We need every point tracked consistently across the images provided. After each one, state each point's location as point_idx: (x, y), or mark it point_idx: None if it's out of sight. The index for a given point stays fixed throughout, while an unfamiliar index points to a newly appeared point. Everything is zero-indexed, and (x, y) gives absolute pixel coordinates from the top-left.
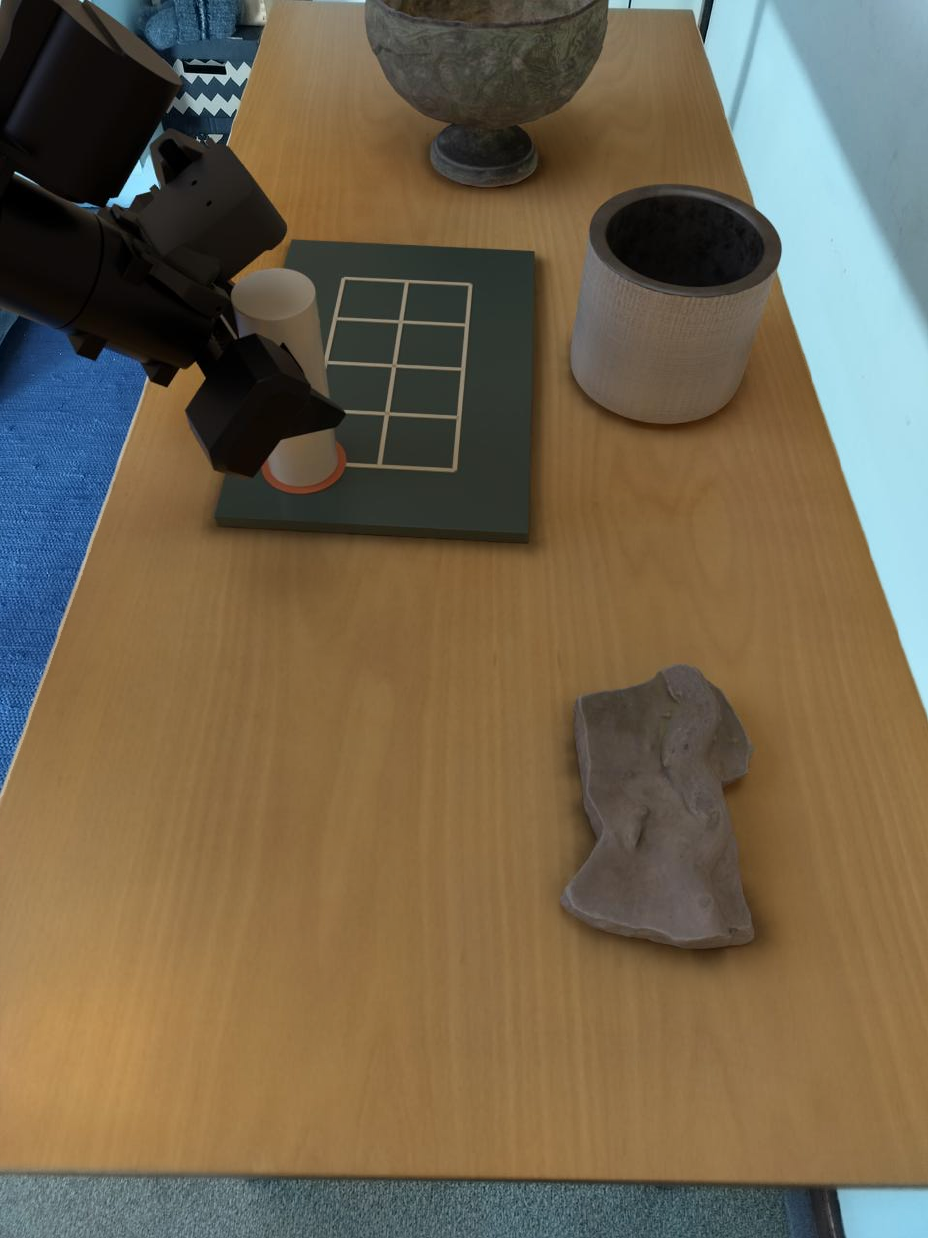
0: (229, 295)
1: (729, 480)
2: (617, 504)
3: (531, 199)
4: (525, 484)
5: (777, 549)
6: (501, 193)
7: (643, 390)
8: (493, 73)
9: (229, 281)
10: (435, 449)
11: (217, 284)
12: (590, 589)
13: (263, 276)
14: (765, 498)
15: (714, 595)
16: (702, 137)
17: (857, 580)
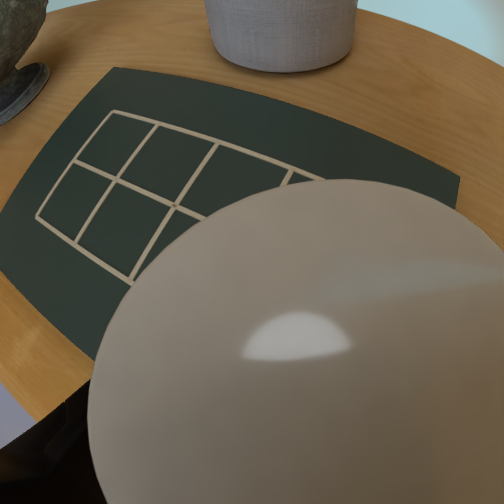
0: (81, 470)
1: (403, 51)
2: (420, 108)
3: (66, 71)
4: (405, 151)
5: (459, 65)
6: (48, 87)
7: (345, 33)
8: (3, 20)
9: (41, 452)
10: None
11: (54, 500)
12: (495, 166)
13: (149, 440)
14: (420, 48)
15: (494, 108)
16: (100, 4)
17: (476, 55)
